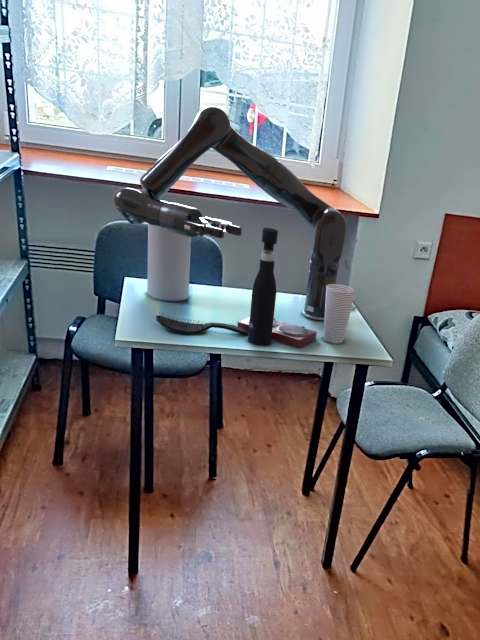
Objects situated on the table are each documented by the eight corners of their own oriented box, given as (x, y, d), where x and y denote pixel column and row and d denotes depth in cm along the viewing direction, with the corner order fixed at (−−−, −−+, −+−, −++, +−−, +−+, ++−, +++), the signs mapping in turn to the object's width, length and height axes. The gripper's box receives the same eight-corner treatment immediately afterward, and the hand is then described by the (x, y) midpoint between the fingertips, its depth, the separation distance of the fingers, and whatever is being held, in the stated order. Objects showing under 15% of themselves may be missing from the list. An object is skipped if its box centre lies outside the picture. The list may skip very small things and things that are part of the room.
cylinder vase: (187, 303, 203) (191, 219, 191) (145, 299, 200) (146, 213, 188) (188, 293, 213) (192, 212, 201) (148, 288, 210) (149, 206, 198)
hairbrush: (250, 329, 181) (156, 317, 173) (248, 342, 183) (155, 330, 175) (246, 320, 188) (156, 308, 180) (245, 332, 190) (155, 321, 182)
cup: (344, 347, 190) (353, 294, 183) (316, 341, 191) (323, 288, 183) (349, 339, 198) (357, 287, 190) (321, 333, 198) (329, 282, 191)
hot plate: (258, 321, 199) (259, 312, 197) (317, 338, 193) (318, 329, 192) (237, 329, 189) (238, 319, 187) (298, 347, 183) (299, 338, 182)
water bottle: (274, 341, 184) (286, 231, 170) (264, 347, 179) (276, 233, 165) (254, 336, 186) (264, 225, 171) (243, 341, 180) (253, 228, 166)
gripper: (164, 206, 169) (218, 219, 165) (197, 203, 181) (247, 216, 177) (163, 236, 173) (215, 250, 168) (195, 232, 185) (245, 245, 180)
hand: (232, 233), depth 173 cm, fingers open, 8 cm apart
